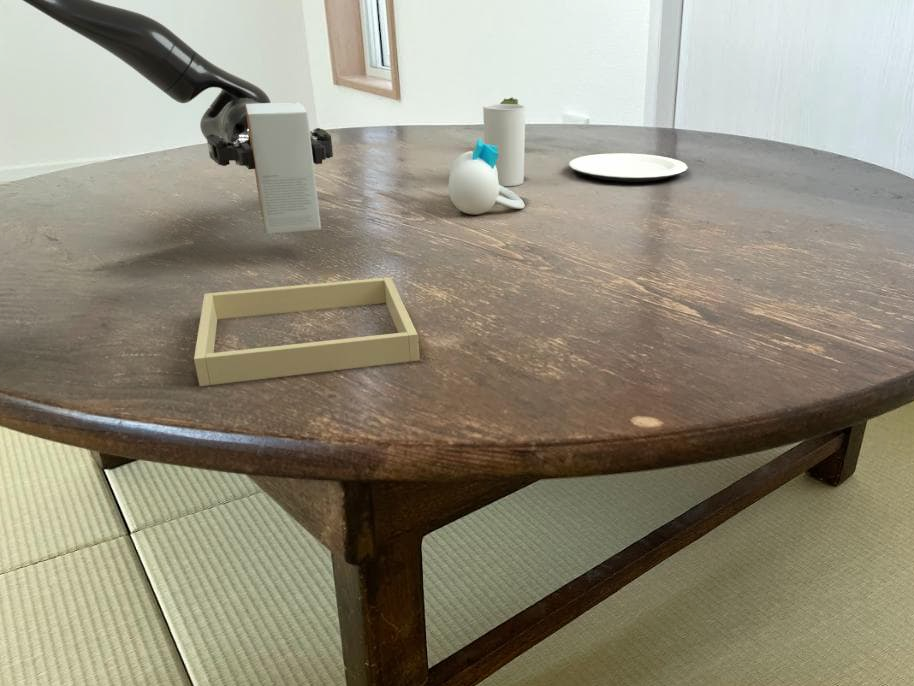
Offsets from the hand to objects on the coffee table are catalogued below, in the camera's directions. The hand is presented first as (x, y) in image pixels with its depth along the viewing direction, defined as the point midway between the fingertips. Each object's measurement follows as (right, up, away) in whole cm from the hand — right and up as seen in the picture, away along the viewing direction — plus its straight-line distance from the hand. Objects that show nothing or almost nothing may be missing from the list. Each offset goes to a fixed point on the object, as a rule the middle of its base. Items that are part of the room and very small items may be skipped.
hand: (285, 157), depth 89 cm
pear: (+23, +23, +70) cm, 77 cm away
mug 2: (+21, +1, +29) cm, 35 cm away
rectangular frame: (+7, -22, -16) cm, 28 cm away
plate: (+44, +13, +52) cm, 69 cm away
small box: (-1, -6, +6) cm, 9 cm away
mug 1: (+22, +10, +46) cm, 52 cm away
